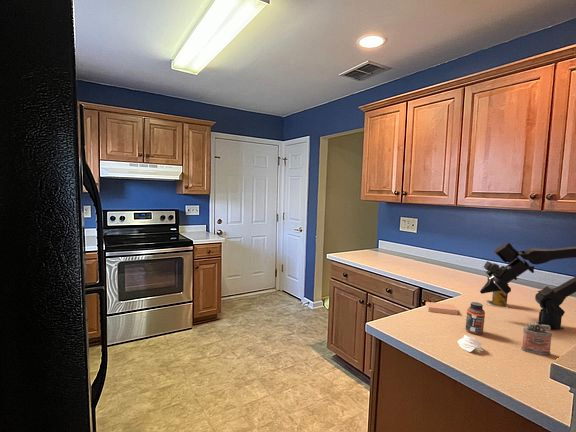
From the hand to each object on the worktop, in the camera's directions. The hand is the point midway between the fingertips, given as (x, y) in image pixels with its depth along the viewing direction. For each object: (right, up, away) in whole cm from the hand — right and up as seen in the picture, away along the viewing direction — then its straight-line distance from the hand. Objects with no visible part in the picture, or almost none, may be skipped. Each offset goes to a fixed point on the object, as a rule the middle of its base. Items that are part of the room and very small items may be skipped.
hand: (480, 292), depth 138 cm
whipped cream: (-21, -13, -28) cm, 37 cm away
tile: (-9, -9, +5) cm, 13 cm away
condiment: (+18, -10, +16) cm, 26 cm away
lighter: (+1, -13, -30) cm, 33 cm away
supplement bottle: (-12, -12, -15) cm, 23 cm away
